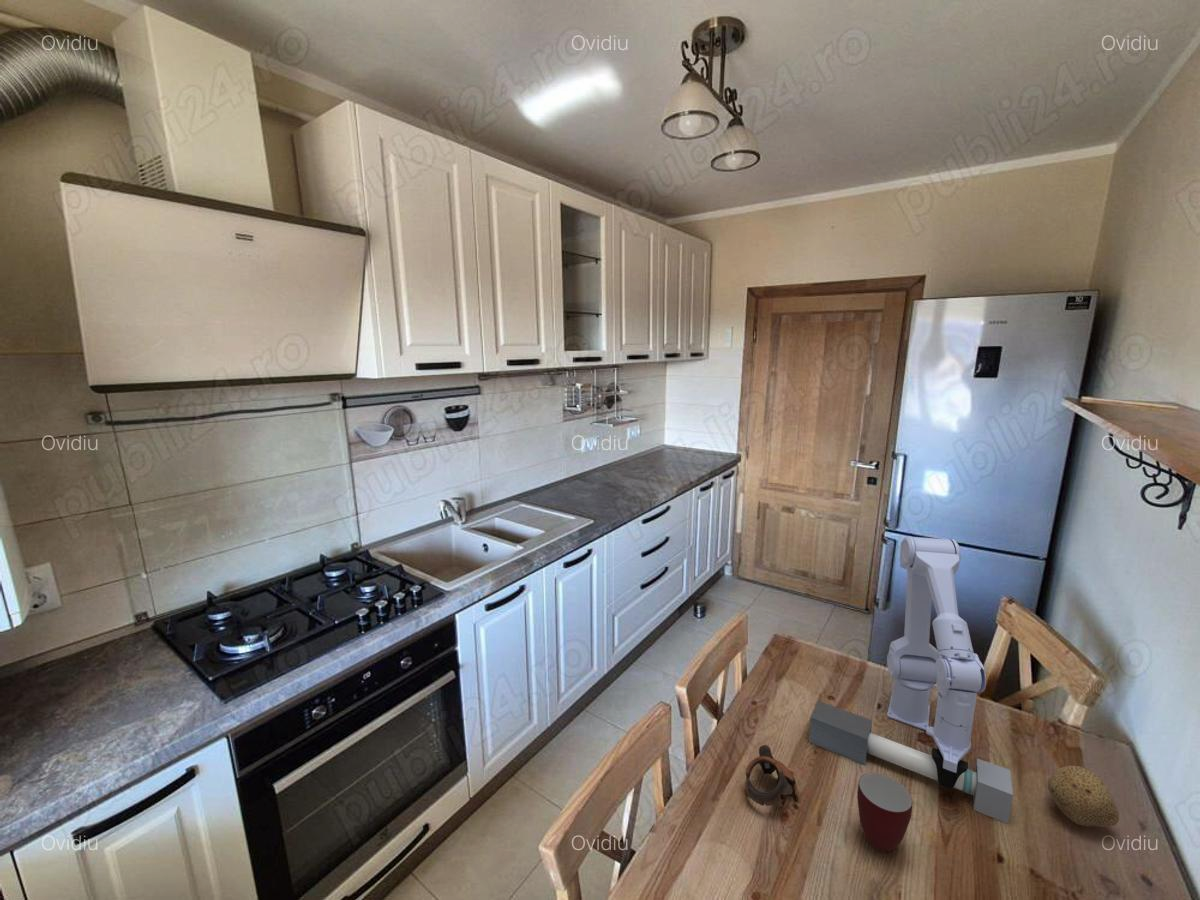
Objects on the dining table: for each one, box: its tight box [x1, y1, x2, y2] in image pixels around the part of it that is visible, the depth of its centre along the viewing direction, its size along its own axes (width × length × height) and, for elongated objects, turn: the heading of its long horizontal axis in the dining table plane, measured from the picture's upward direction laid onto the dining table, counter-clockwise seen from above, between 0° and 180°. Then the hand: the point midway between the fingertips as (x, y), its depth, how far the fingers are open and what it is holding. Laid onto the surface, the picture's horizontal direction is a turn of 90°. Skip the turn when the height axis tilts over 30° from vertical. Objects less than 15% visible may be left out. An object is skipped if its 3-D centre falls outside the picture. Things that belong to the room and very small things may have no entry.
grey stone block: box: [808, 700, 873, 766], centre depth 108 cm, size 11×7×6 cm, turn 54°
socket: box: [972, 758, 1014, 825], centre depth 93 cm, size 5×7×6 cm
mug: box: [856, 772, 913, 853], centre depth 87 cm, size 11×8×10 cm
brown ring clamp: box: [744, 744, 800, 808], centre depth 97 cm, size 12×10×8 cm
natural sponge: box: [1047, 765, 1120, 828], centre depth 89 cm, size 9×9×10 cm
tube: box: [867, 732, 977, 796], centre depth 100 cm, size 23×4×4 cm, turn 55°
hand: (945, 778), depth 97 cm, fingers closed on tube, 4 cm apart
